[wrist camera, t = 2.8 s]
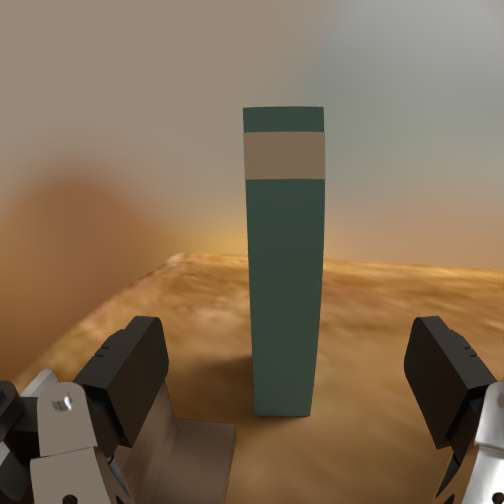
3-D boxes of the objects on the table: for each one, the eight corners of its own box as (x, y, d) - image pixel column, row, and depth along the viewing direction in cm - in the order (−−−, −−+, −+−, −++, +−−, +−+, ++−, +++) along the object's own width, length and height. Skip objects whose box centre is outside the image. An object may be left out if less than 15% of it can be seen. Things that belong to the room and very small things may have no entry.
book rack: (201, 624, 6) (170, 619, 4) (-31, 514, 7) (-87, 458, 5) (236, 436, 19) (229, 373, 17) (50, 401, 20) (23, 343, 18)
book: (310, 415, 20) (323, 106, 14) (254, 415, 21) (242, 107, 15) (305, 353, 28) (309, 121, 22) (261, 353, 28) (254, 121, 22)
